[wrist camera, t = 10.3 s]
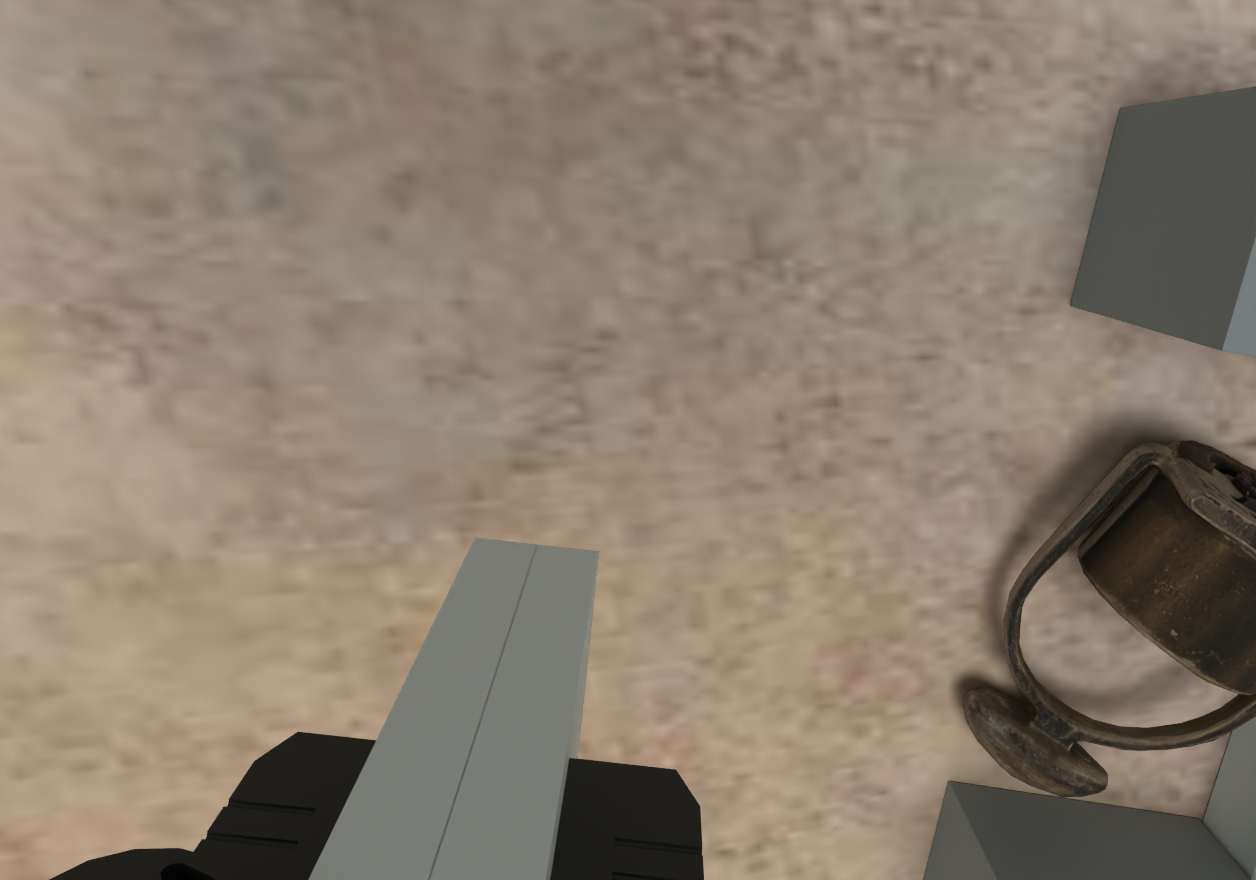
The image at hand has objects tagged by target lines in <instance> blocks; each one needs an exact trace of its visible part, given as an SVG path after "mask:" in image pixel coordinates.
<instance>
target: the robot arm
mask: <svg viewBox="0 0 1256 880" xmlns="http://www.w3.org/2000/svg"><path fill="white" fill-rule="evenodd" d="M598 558H599V551H591V550H582V549H573V548H564V547H554V546H545V545H536V544H527V543H518V542H509V541H500V540H491V539H482V538H475V539H474V541H473V543H472V545H471V547H470V549H469V552H468V554H467V556H466V558H465V560H464V562H463V564H462V566H461V568H460V570H459V572H458V574H457V576H456V578H455V580H454V582H453V584H452V586H451V588H450V591H449V593H448V595H447V597H446V599H445V601H444V603H443V605H442V607H441V609H440V611H439V613H438V615H437V617H436V619H435V621H434V623H433V625H432V627H431V629H430V632H429V634H428V636H427V638H426V640H425V642H424V644H423V646H422V648H421V650H420V652H419V654H418V656H417V658H416V660H415V662H414V664H413V666H412V668H411V670H410V673H409V675H408V677H407V679H406V681H405V683H404V685H403V687H402V689H401V691H400V693H399V695H398V697H397V699H396V701H395V703H394V705H393V707H392V709H391V711H390V714H389V716H388V718H387V720H386V722H385V724H384V726H383V728H382V730H381V732H380V734H379V736H378V738H377V740H367V739H358V738H349V737H340V736H331V735H322V734H313V733H304V732H297V733H295V734H294V735H292V736H291V737H289V738H288V739H286V740H285V741H284V742H282V743H281V744H279V745H278V746H276V747H275V748H273V749H272V750H270V751H269V752H267V753H266V754H264V755H263V756H261V757H260V758H258V759H257V760H255V761H254V763H253V764H252V766H251V767H250V768H249V770H248V771H247V773H246V774H245V776H244V777H243V779H242V780H241V782H240V783H239V785H238V786H237V788H236V789H235V791H234V792H233V794H232V795H231V797H230V798H229V803H228V806H227V807H225V806H224V807H223V809H222V810H221V812H220V813H219V815H218V816H217V818H216V819H215V821H214V822H213V824H212V825H211V827H210V828H209V830H208V832H207V837H206V839H205V840H204V839H202V840H201V842H200V843H199V845H198V846H197V848H196V849H195V851H194V852H192V851H188V850H184V849H180V848H165V849H133V850H129V851H125V852H121V853H117V854H113V855H109V856H105V857H101V858H97V859H92V860H88V861H86V862H84V863H82V864H80V865H78V866H76V867H74V868H72V869H70V870H68V871H66V872H64V873H62V874H60V875H58V876H56V877H54V878H52V879H50V880H704V871H703V855H702V833H701V814H700V805H699V804H698V802H697V801H696V799H695V798H694V796H693V795H692V793H691V792H690V790H689V789H688V787H687V786H686V784H685V783H684V781H683V780H682V778H681V777H680V775H679V774H678V772H677V771H676V770H674V769H665V768H656V767H647V766H638V765H629V764H620V763H611V762H602V761H593V760H584V759H577V758H578V751H579V742H580V732H581V723H582V713H583V703H584V693H585V684H586V674H587V664H588V655H589V645H590V635H591V625H592V616H593V606H594V596H595V587H596V577H597V567H598Z"/></svg>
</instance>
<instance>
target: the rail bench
mask: <svg viewBox="0 0 1256 880" xmlns="http://www.w3.org/2000/svg"><path fill="white" fill-rule="evenodd" d="M1070 306H1073V307H1076V308H1079V309H1083V310H1086V311H1090V312H1093V313H1096V314H1100V315H1103V316H1106V317H1110V318H1113V319H1117V320H1120V321H1123V322H1127V323H1130V324H1134V325H1137V326H1140V327H1144V328H1147V329H1150V330H1154V331H1157V332H1161V333H1164V334H1167V335H1171V336H1174V337H1177V338H1181V339H1184V340H1188V341H1191V342H1194V343H1198V344H1201V345H1205V346H1208V347H1211V348H1215V349H1218V350H1221V351H1227V352H1234V353H1240V354H1247V355H1253V356H1256V87H1250V88H1244V89H1238V90H1231V91H1225V92H1219V93H1213V94H1206V95H1200V96H1194V97H1187V98H1181V99H1175V100H1168V101H1162V102H1156V103H1150V104H1143V105H1137V106H1131V107H1124V108H1120V112H1119V116H1118V120H1117V124H1116V127H1115V131H1114V135H1113V139H1112V143H1111V147H1110V151H1109V155H1108V159H1107V163H1106V167H1105V171H1104V174H1103V178H1102V182H1101V186H1100V190H1099V194H1098V198H1097V202H1096V206H1095V210H1094V214H1093V218H1092V221H1091V225H1090V229H1089V233H1088V237H1087V241H1086V245H1085V249H1084V253H1083V257H1082V261H1081V265H1080V268H1079V272H1078V276H1077V280H1076V284H1075V288H1074V292H1073V296H1072V300H1071V304H1070ZM924 880H1256V717H1254V718H1253V719H1251V720H1250V721H1248V722H1246V723H1245V724H1243V725H1241V726H1240V727H1238V728H1237V729H1235V730H1233V731H1232V733H1231V736H1230V739H1229V742H1228V746H1227V749H1226V752H1225V755H1224V758H1223V761H1222V764H1221V767H1220V770H1219V773H1218V776H1217V779H1216V782H1215V785H1214V789H1213V792H1212V795H1211V798H1210V801H1209V804H1208V807H1207V810H1206V813H1205V816H1204V819H1203V822H1201V821H1200V820H1199V819H1198V818H1193V817H1186V816H1179V815H1172V814H1166V813H1159V812H1152V811H1146V810H1139V809H1132V808H1125V807H1119V806H1112V805H1105V804H1099V803H1092V802H1085V801H1079V800H1072V799H1065V798H1058V797H1052V796H1045V795H1038V794H1032V793H1025V792H1018V791H1011V790H1005V789H998V788H991V787H985V786H978V785H971V784H964V783H958V782H951V781H949V782H948V786H947V790H946V794H945V797H944V801H943V805H942V809H941V813H940V817H939V821H938V825H937V829H936V833H935V837H934V841H933V844H932V848H931V852H930V856H929V860H928V864H927V868H926V872H925V876H924Z"/></svg>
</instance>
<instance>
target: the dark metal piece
mask: <svg viewBox="0 0 1256 880" xmlns="http://www.w3.org/2000/svg"><path fill="white" fill-rule="evenodd" d="M1148 466H1150V467H1149V468H1148V469H1147V471H1146V472H1145V473H1144V474H1143V475H1142V476H1141V477H1140V478H1139V480H1138V481H1137V482H1136V483H1135V484H1134V485H1133V486H1132V487H1131V488H1130V490H1129V491H1128V492H1127V493H1126V494H1125V495H1124V496H1123V497H1122V499H1121V500H1120V501H1119V502H1118V503H1117V504H1116V505H1115V506H1114V507H1113V509H1112V510H1111V511H1110V512H1109V513H1108V514H1107V515H1106V516H1105V517H1104V519H1103V520H1102V521H1101V522H1100V523H1099V524H1098V525H1097V526H1096V527H1095V528H1094V530H1093V531H1092V532H1091V533H1090V534H1089V535H1088V536H1087V537H1086V538H1085V540H1084V541H1083V542H1082V543H1081V544H1080V546H1079V547H1078V558H1079V561H1080V564H1081V566H1082V569H1083V572H1084V574H1085V575H1086V576H1087V578H1088V579H1089V580H1090V582H1091V583H1092V584H1093V586H1094V587H1095V589H1096V590H1097V591H1098V592H1099V594H1100V595H1101V596H1102V597H1103V598H1104V599H1105V600H1106V601H1107V602H1108V603H1109V604H1110V605H1111V606H1112V607H1113V608H1114V609H1115V610H1116V611H1117V612H1118V613H1119V614H1120V615H1121V616H1122V617H1123V618H1124V619H1125V620H1127V621H1128V622H1129V623H1130V624H1131V625H1132V626H1133V627H1134V628H1136V629H1137V630H1138V631H1139V632H1140V633H1141V634H1142V635H1143V636H1144V637H1146V638H1147V639H1148V640H1150V641H1151V642H1152V643H1154V644H1155V645H1156V646H1158V647H1159V648H1160V649H1162V650H1163V651H1164V652H1166V653H1167V654H1168V655H1170V656H1171V657H1172V658H1174V659H1175V660H1176V661H1178V662H1179V663H1180V664H1182V665H1183V666H1184V667H1186V668H1187V669H1188V670H1190V671H1191V672H1192V673H1194V674H1195V675H1197V676H1198V677H1200V678H1202V679H1203V680H1205V681H1207V682H1209V683H1211V684H1214V685H1216V686H1219V687H1221V688H1224V689H1226V690H1229V691H1232V692H1235V693H1239V695H1237V696H1236V697H1235V698H1233V699H1232V700H1231V701H1229V702H1228V703H1226V704H1225V705H1224V706H1222V707H1221V708H1219V709H1217V710H1215V711H1213V712H1211V713H1209V714H1206V715H1204V716H1202V717H1199V718H1196V719H1193V720H1189V721H1186V722H1183V723H1178V724H1171V725H1165V726H1158V727H1151V728H1139V727H1120V726H1116V725H1112V724H1108V723H1104V722H1101V721H1097V720H1093V719H1091V718H1089V717H1087V716H1085V715H1083V714H1081V713H1079V712H1077V711H1075V710H1073V709H1071V708H1070V707H1069V706H1067V705H1066V704H1064V703H1063V702H1061V701H1060V700H1058V699H1057V698H1055V697H1054V696H1052V695H1051V694H1049V693H1048V692H1047V691H1046V690H1045V689H1044V688H1043V686H1042V685H1041V684H1040V683H1039V682H1038V681H1037V680H1036V679H1035V678H1034V676H1033V674H1032V673H1031V671H1030V669H1029V668H1028V666H1027V664H1026V663H1025V661H1024V659H1023V655H1022V652H1021V648H1020V645H1019V638H1020V623H1021V613H1022V607H1023V604H1024V601H1025V598H1026V597H1027V595H1028V594H1029V593H1030V591H1031V590H1032V588H1033V587H1034V585H1035V584H1036V583H1037V581H1038V580H1039V579H1040V578H1041V576H1042V575H1043V574H1044V573H1045V572H1046V571H1047V570H1048V569H1049V568H1050V567H1051V566H1052V565H1053V564H1054V563H1055V562H1056V561H1057V560H1058V559H1059V558H1060V557H1061V556H1062V555H1063V554H1064V553H1065V552H1066V551H1067V550H1068V549H1069V548H1070V547H1071V545H1072V544H1073V543H1074V542H1075V541H1076V540H1077V539H1078V538H1079V537H1080V536H1081V535H1082V534H1083V533H1084V532H1085V531H1086V530H1087V529H1088V528H1089V527H1090V526H1091V524H1092V523H1093V522H1094V521H1095V520H1096V519H1097V518H1098V517H1099V516H1100V515H1101V514H1102V512H1103V511H1104V510H1105V509H1106V508H1107V507H1108V505H1109V504H1110V503H1111V502H1112V501H1113V499H1114V498H1115V497H1116V496H1117V494H1118V493H1119V492H1120V491H1121V490H1122V488H1123V487H1124V486H1125V485H1126V484H1127V483H1128V482H1129V481H1131V480H1132V479H1133V478H1134V477H1135V476H1136V475H1138V474H1139V473H1140V472H1141V471H1142V470H1143V469H1144V468H1146V467H1148ZM1003 627H1004V643H1005V654H1006V657H1007V661H1008V664H1009V668H1010V671H1011V674H1012V676H1013V678H1014V680H1015V682H1016V684H1017V686H1018V688H1019V690H1020V691H1021V692H1022V693H1023V694H1024V695H1025V696H1026V697H1027V698H1028V700H1029V701H1030V702H1031V703H1032V705H1033V707H1032V708H1031V707H1029V706H1027V705H1025V704H1023V703H1021V702H1019V701H1017V700H1015V699H1013V698H1011V697H1009V696H1007V695H1005V694H1003V693H1001V692H999V691H997V690H994V689H991V688H987V687H978V688H975V689H972V690H970V691H969V692H968V693H967V695H966V696H965V698H964V701H963V709H964V713H965V717H966V721H967V723H968V725H969V727H970V729H971V730H972V732H973V734H974V736H975V738H976V739H977V741H978V742H979V743H980V744H981V745H982V746H983V748H984V749H985V750H986V751H987V752H988V753H989V754H990V755H991V756H992V757H993V758H994V760H995V761H996V762H997V763H998V764H999V765H1000V766H1001V767H1002V768H1003V769H1004V770H1006V771H1007V772H1008V773H1009V774H1010V775H1011V776H1013V777H1015V778H1017V779H1019V780H1021V781H1023V782H1024V783H1026V784H1028V785H1030V786H1033V787H1036V788H1038V789H1041V790H1044V791H1047V792H1050V793H1052V794H1055V795H1058V796H1061V797H1083V796H1088V795H1092V794H1096V793H1099V792H1101V791H1103V790H1105V789H1106V786H1107V784H1108V774H1107V772H1106V771H1105V770H1104V768H1103V767H1102V766H1100V765H1099V764H1098V763H1097V762H1096V761H1095V760H1094V759H1093V758H1092V757H1091V756H1090V755H1089V754H1088V753H1087V752H1086V751H1085V750H1084V749H1083V748H1082V747H1081V746H1080V745H1079V744H1077V743H1076V742H1075V741H1086V742H1090V743H1094V744H1099V745H1103V746H1107V747H1111V748H1116V749H1122V750H1136V751H1145V750H1168V749H1175V748H1182V747H1189V746H1194V745H1198V744H1202V743H1206V742H1210V741H1214V740H1216V739H1218V738H1220V737H1222V736H1223V735H1225V734H1227V733H1229V732H1231V731H1233V730H1235V729H1237V728H1238V727H1240V726H1241V725H1243V724H1245V723H1246V722H1248V721H1250V720H1251V719H1253V718H1254V717H1256V470H1254V469H1252V468H1250V467H1248V466H1245V465H1243V464H1241V463H1240V462H1238V461H1237V460H1235V459H1233V458H1232V457H1230V456H1228V455H1226V454H1224V453H1223V452H1221V451H1218V450H1217V449H1214V448H1212V447H1210V446H1207V445H1204V444H1200V443H1198V442H1196V441H1193V440H1191V441H1177V442H1172V443H1170V444H1168V445H1161V444H1157V443H1153V442H1151V443H1143V444H1140V445H1138V446H1135V447H1134V448H1133V449H1132V450H1131V451H1130V452H1129V453H1128V454H1127V455H1126V456H1125V457H1124V458H1123V459H1122V460H1121V461H1120V462H1119V463H1118V464H1117V465H1116V466H1115V467H1114V469H1113V470H1112V471H1111V472H1110V473H1109V474H1108V475H1107V476H1106V477H1105V478H1104V479H1103V480H1102V481H1101V482H1100V483H1099V484H1098V485H1097V486H1096V487H1095V489H1094V490H1093V491H1092V492H1091V493H1090V494H1089V495H1088V496H1087V497H1086V498H1085V499H1084V500H1083V502H1082V503H1081V504H1080V505H1079V506H1078V507H1077V508H1076V509H1075V510H1074V511H1073V513H1072V514H1071V515H1070V516H1069V517H1068V518H1067V519H1066V520H1065V521H1064V522H1063V524H1062V525H1061V526H1060V527H1059V528H1058V529H1057V530H1056V531H1055V532H1054V533H1053V534H1052V536H1051V537H1050V538H1049V539H1048V540H1047V541H1046V542H1045V543H1044V544H1043V545H1042V547H1041V548H1040V549H1039V550H1038V551H1037V552H1036V553H1035V555H1034V556H1033V557H1032V558H1031V560H1030V561H1029V562H1028V564H1027V565H1026V566H1025V568H1024V569H1023V570H1022V572H1021V574H1020V575H1019V577H1018V578H1017V580H1016V582H1015V583H1014V585H1013V587H1012V589H1011V591H1010V593H1009V598H1008V602H1007V607H1006V611H1005V616H1004V620H1003Z"/></svg>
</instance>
